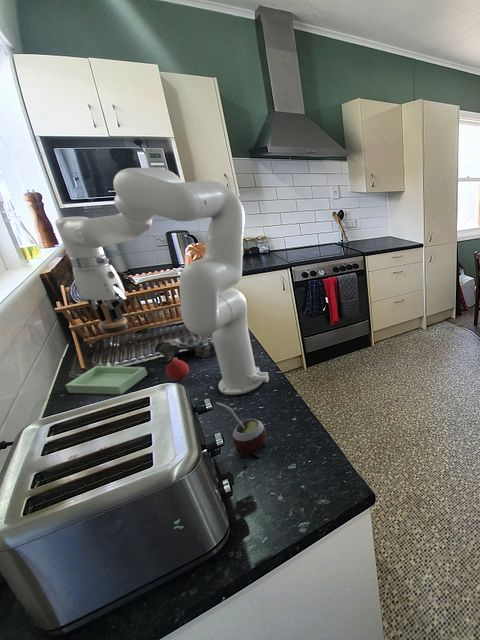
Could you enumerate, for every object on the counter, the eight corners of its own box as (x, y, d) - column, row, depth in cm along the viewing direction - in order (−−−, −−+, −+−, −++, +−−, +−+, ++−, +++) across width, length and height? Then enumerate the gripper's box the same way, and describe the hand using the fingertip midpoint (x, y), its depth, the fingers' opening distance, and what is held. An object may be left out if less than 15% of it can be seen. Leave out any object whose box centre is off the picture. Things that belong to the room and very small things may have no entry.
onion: (180, 386, 108) (173, 364, 104) (165, 383, 109) (157, 361, 105) (195, 376, 113) (189, 354, 109) (180, 373, 114) (174, 352, 110)
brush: (134, 325, 111) (125, 300, 108) (117, 334, 105) (107, 308, 102) (114, 324, 111) (105, 300, 108) (96, 333, 105) (86, 307, 102)
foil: (201, 357, 117) (159, 333, 114) (192, 377, 122) (151, 355, 119) (222, 339, 127) (184, 318, 125) (213, 359, 132) (176, 338, 129)
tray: (147, 374, 113) (145, 367, 112) (121, 394, 103) (118, 386, 102) (99, 373, 112) (96, 365, 111) (68, 392, 103) (65, 385, 102)
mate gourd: (273, 452, 85) (263, 403, 79) (239, 469, 80) (225, 418, 74) (261, 436, 90) (251, 388, 83) (228, 451, 85) (215, 402, 78)
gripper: (128, 259, 103) (147, 315, 110) (74, 257, 103) (97, 314, 110) (106, 265, 96) (128, 325, 103) (48, 264, 96) (74, 324, 104)
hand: (112, 319), depth 107 cm, fingers closed on brush, 2 cm apart
